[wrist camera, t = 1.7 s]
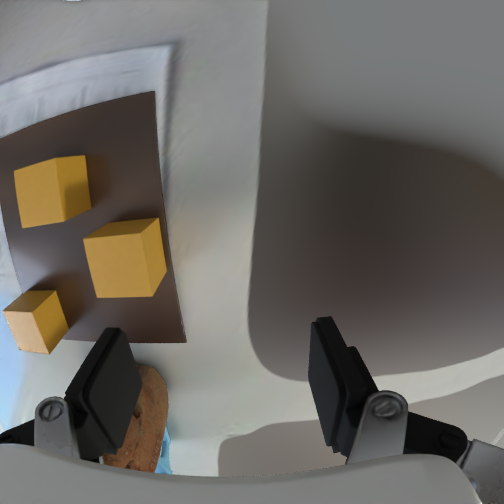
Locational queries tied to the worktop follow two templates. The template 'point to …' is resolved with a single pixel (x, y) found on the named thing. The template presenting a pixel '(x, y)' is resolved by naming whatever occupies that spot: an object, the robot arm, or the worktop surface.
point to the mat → (93, 216)
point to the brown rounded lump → (144, 426)
